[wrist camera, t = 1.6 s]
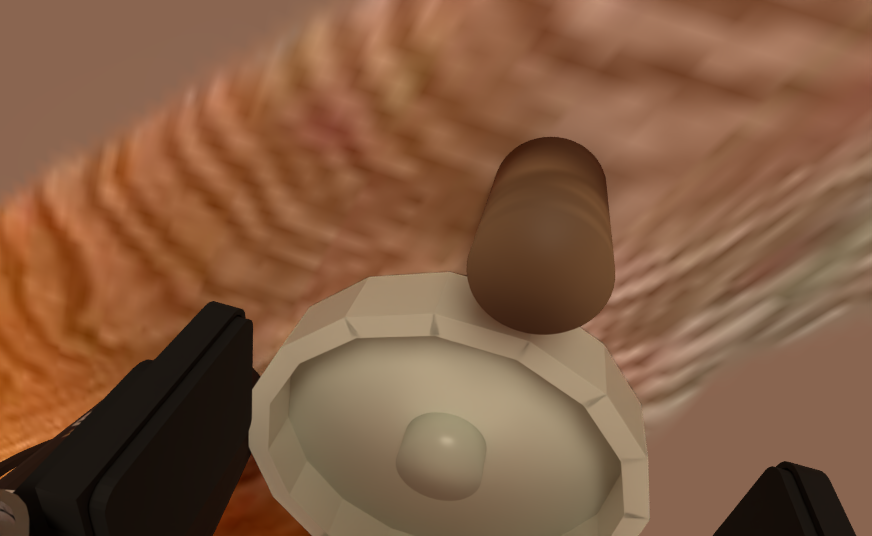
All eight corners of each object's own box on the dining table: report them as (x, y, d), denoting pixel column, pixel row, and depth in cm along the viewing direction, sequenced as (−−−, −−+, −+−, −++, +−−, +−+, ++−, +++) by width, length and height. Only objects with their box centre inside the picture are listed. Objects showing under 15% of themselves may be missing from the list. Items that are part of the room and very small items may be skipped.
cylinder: (623, 153, 19) (638, 233, 14) (584, 251, 21) (586, 350, 16) (509, 124, 20) (484, 191, 14) (482, 223, 22) (453, 312, 17)
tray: (713, 346, 22) (730, 399, 20) (569, 583, 32) (568, 639, 29) (285, 224, 24) (250, 260, 21) (272, 486, 33) (247, 532, 31)
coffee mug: (305, 364, 28) (184, 553, 19) (276, 466, 32) (170, 654, 24) (87, 273, 28) (-127, 422, 19) (90, 388, 32) (-80, 548, 24)
